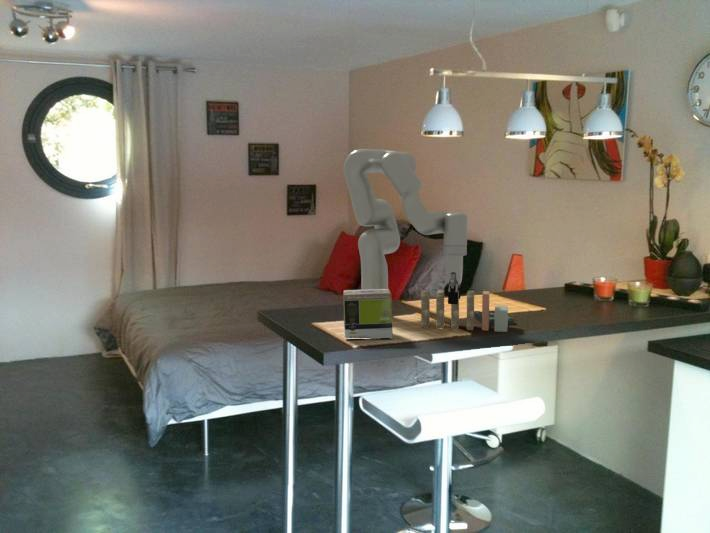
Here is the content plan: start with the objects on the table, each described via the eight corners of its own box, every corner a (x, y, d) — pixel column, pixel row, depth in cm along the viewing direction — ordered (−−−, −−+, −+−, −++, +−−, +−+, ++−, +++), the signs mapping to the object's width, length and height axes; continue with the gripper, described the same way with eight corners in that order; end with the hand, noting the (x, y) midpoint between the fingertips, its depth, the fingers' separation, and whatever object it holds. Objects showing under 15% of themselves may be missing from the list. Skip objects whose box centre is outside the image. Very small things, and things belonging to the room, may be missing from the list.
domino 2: (436, 328, 238) (436, 293, 237) (438, 324, 244) (438, 290, 242) (442, 328, 238) (442, 293, 236) (444, 325, 243) (444, 290, 242)
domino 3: (451, 329, 237) (451, 293, 235) (453, 325, 243) (452, 290, 241) (457, 329, 236) (457, 293, 235) (459, 325, 242) (458, 290, 241)
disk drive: (472, 318, 256) (485, 327, 242) (472, 311, 256) (485, 318, 241) (500, 317, 258) (514, 325, 243) (500, 309, 257) (515, 317, 243)
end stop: (494, 331, 233) (494, 310, 232) (495, 326, 241) (495, 305, 240) (507, 331, 232) (507, 310, 231) (507, 326, 240) (507, 305, 239)
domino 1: (421, 328, 239) (421, 292, 238) (423, 324, 245) (423, 289, 243) (427, 328, 239) (427, 292, 237) (429, 324, 245) (429, 289, 243)
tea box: (390, 332, 233) (389, 287, 231) (392, 339, 223) (392, 293, 221) (343, 333, 233) (343, 288, 231) (344, 340, 223) (343, 294, 221)
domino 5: (482, 330, 235) (482, 294, 233) (483, 326, 240) (483, 291, 239) (488, 330, 234) (488, 294, 233) (489, 326, 240) (489, 291, 238)
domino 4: (466, 329, 236) (466, 293, 234) (468, 325, 242) (468, 290, 240) (472, 330, 235) (473, 293, 234) (474, 326, 241) (474, 290, 240)
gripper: (446, 247, 245) (445, 296, 248) (440, 253, 229) (440, 305, 231) (468, 247, 244) (467, 297, 246) (464, 253, 227) (463, 306, 230)
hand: (454, 301), depth 239 cm, fingers open, 9 cm apart
